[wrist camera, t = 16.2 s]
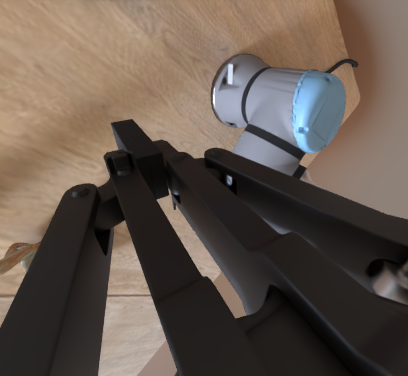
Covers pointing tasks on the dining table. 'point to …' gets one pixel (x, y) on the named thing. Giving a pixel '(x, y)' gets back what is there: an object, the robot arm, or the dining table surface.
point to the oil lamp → (18, 256)
